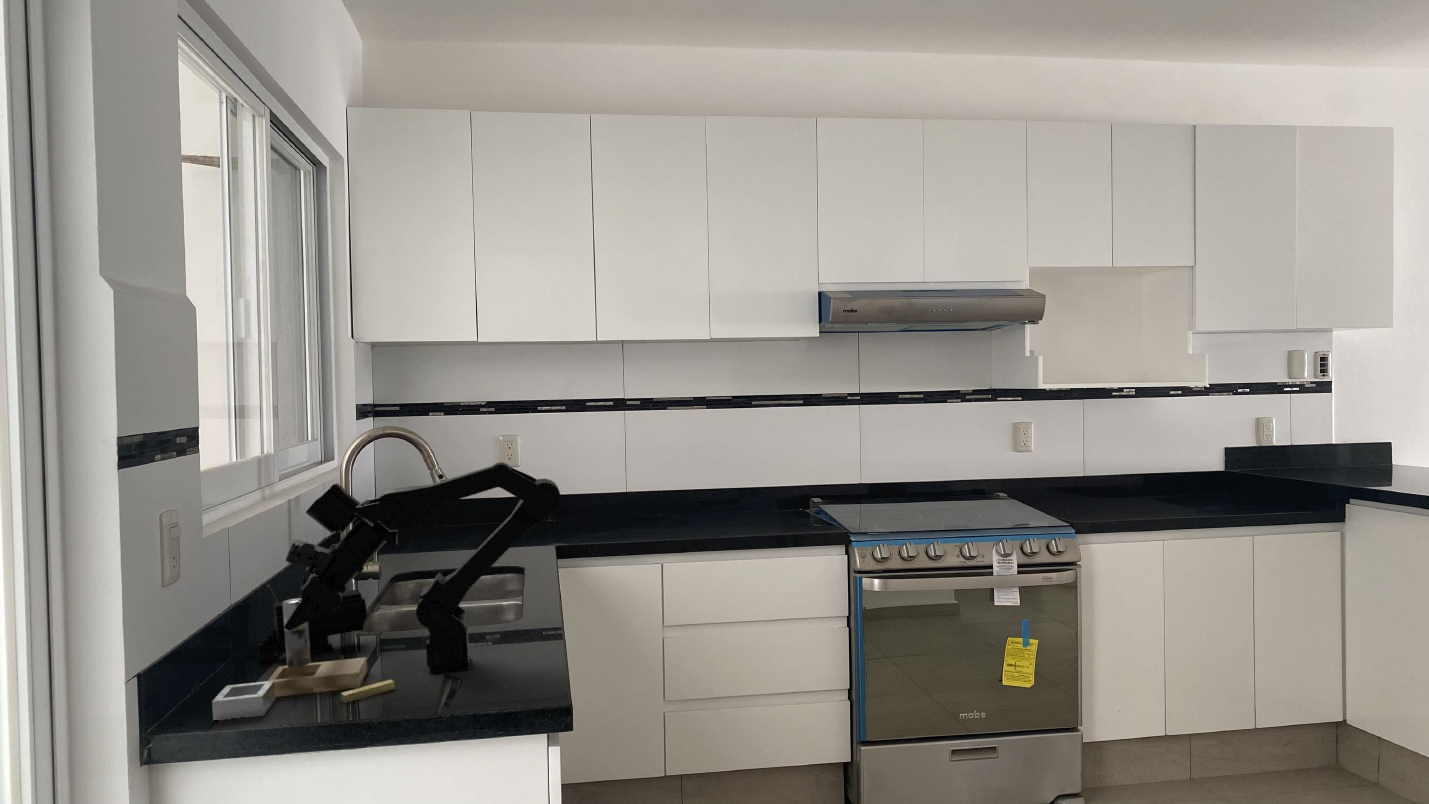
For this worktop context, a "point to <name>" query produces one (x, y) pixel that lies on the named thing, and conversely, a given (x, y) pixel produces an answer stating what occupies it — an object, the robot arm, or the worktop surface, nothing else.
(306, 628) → the tin canister
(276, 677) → the wooden box
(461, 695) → the worktop surface
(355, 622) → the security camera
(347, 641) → the worktop surface
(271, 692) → the socket block
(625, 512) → the worktop surface
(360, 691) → the bar
